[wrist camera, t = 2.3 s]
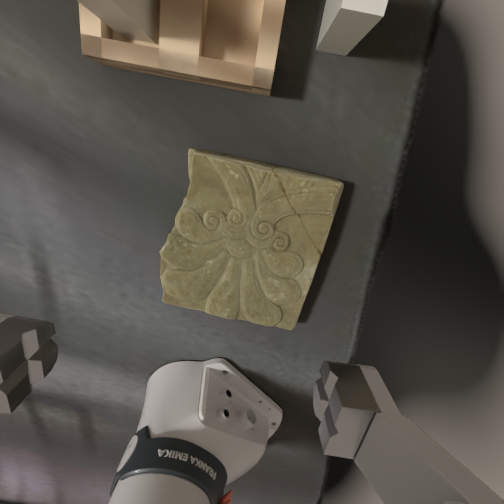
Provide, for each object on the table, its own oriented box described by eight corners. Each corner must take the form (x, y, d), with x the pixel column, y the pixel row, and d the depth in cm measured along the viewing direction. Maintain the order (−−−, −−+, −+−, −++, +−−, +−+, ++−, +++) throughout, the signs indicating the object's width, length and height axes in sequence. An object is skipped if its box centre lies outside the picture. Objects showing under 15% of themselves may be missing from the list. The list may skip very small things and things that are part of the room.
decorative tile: (340, 179, 31) (350, 183, 28) (291, 319, 38) (294, 336, 35) (181, 139, 30) (171, 138, 26) (161, 292, 37) (152, 306, 34)
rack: (269, 96, 28) (271, 89, 24) (103, 65, 27) (81, 54, 24) (288, -16, 24) (292, -41, 21) (99, -55, 24) (73, -87, 20)
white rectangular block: (345, 55, 26) (383, 16, 18) (315, 50, 26) (340, 7, 18) (360, -3, 24) (408, -74, 17) (328, -9, 24) (361, -84, 16)
